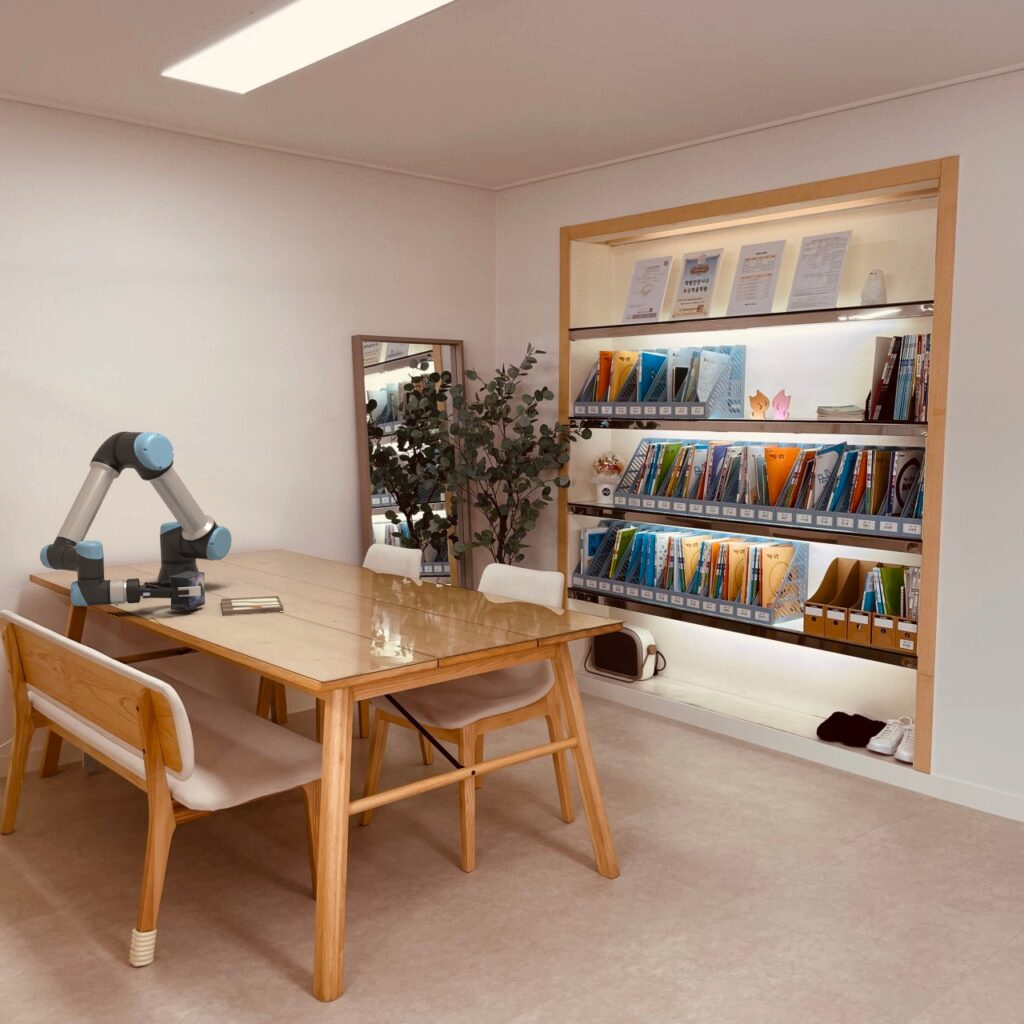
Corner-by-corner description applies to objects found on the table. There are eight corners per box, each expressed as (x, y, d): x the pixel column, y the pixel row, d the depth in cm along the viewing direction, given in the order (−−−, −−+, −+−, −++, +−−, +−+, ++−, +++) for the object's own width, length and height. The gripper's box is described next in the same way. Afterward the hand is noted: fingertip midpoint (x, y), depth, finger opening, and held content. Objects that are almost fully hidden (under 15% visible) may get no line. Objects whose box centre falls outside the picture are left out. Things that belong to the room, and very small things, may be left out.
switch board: (221, 603, 338) (220, 597, 337) (278, 600, 343) (278, 594, 343) (223, 615, 319) (223, 609, 318) (283, 612, 324) (283, 606, 324)
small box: (189, 611, 319) (188, 577, 318) (170, 610, 321) (168, 576, 319) (206, 604, 330) (205, 571, 328) (187, 603, 331) (186, 570, 330)
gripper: (128, 595, 331) (200, 592, 337) (124, 611, 308) (201, 606, 315) (127, 572, 330) (199, 569, 336) (123, 586, 307) (200, 582, 314)
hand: (200, 587), depth 325 cm, fingers closed on small box, 12 cm apart
